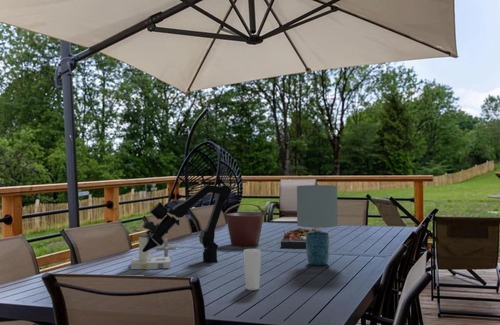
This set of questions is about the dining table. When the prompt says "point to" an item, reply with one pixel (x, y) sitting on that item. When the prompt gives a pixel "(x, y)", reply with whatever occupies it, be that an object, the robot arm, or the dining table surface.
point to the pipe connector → (165, 248)
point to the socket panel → (151, 263)
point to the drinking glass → (252, 268)
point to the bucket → (244, 227)
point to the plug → (142, 243)
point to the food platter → (295, 238)
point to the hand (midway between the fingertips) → (142, 250)
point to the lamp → (317, 219)
